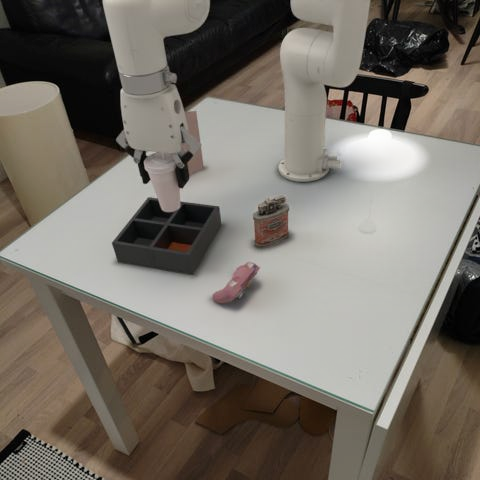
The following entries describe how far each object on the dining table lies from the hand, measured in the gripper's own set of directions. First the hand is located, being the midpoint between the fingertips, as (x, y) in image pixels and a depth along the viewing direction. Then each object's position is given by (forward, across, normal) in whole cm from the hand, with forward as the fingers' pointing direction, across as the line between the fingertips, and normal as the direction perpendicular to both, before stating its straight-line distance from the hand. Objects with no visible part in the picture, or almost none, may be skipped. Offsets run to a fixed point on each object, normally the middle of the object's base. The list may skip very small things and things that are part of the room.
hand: (165, 181), depth 88 cm
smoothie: (+6, 0, 0) cm, 6 cm away
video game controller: (+18, -15, +7) cm, 24 cm away
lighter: (+18, -17, -10) cm, 27 cm away
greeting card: (+18, +13, -31) cm, 38 cm away
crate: (+18, +4, -4) cm, 19 cm away
